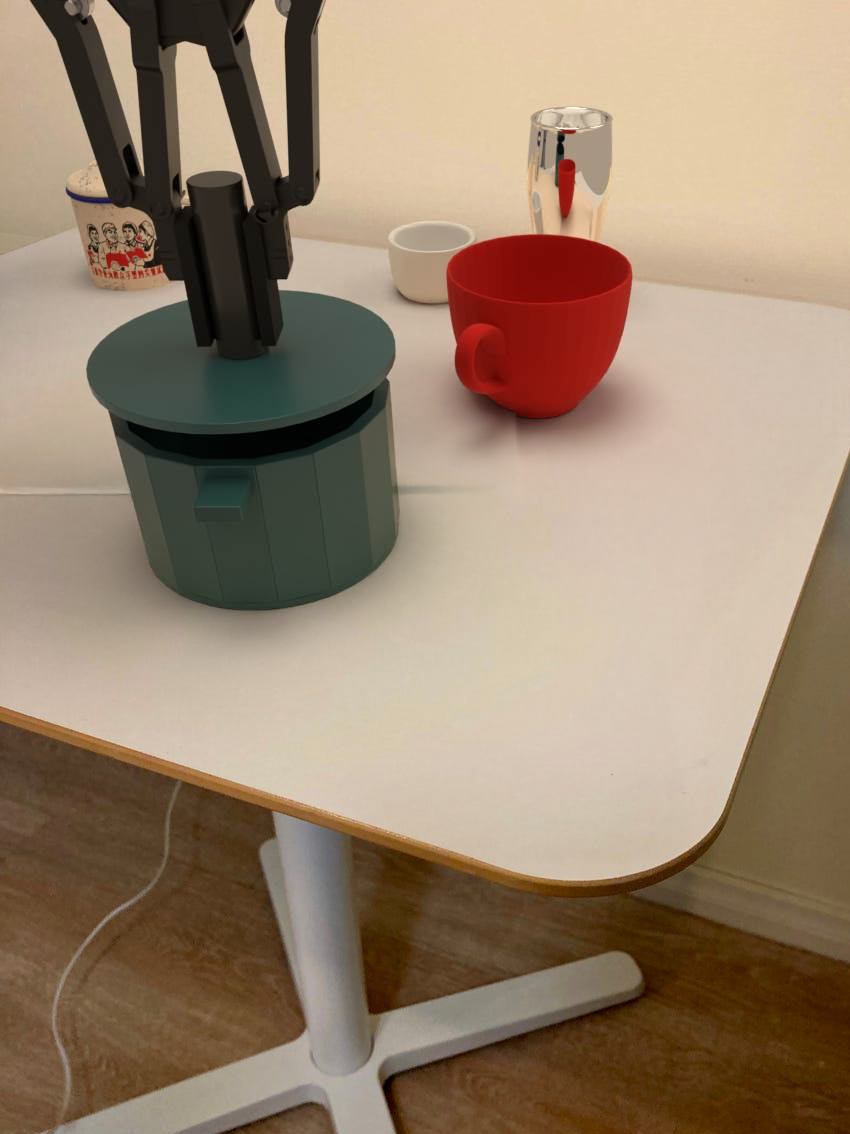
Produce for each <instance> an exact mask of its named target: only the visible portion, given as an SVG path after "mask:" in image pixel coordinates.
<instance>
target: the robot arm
mask: <svg viewBox="0 0 850 1134" xmlns="http://www.w3.org/2000/svg"><path fill="white" fill-rule="evenodd" d="M106 1H107V3H108V4H109V5H110V6H111V7H112V8H113V10H114V11H115V12H116V14H118V16H119V17H120V18H121V19H122V20H123V22H124V23H125V24H126V25H127V26H128V27H129V37H130V49H131V51H130V52H131V60H132V65H133V67H134V69H135V74H136V85H137V87H136V88H137V98H138V99H137V101H138V111H139V113H138V114H139V123H140V124H139V126H140V137H141V149H142V151H141V152H142V161H143V165H144V176H143V173H142V170H141V167H140V163H139V160H138V159H139V157H138V154H137V151H136V147H135V144H134V142H133V137H132V135H131V131H130V127H129V125H128V121H127V117H126V115H125V111H124V109H123V104H122V102H121V98H120V95H119V93H118V89H117V85H116V82H115V79H114V75H113V71H112V70H111V66H110V63H109V60H108V56H107V52H106V50H105V46H104V43H103V39H102V37H101V34H100V30H99V28H98V26H97V24H96V22H95V20H94V17H93V13H94V12H95V9H96V1H95V0H29V2H30V3H31V5H32V6H33V8H34V10H36V12H37V14H38V15H39V17H40V19H41V20H42V21H43V23H44V24H45V26H46V27H47V29H48V31H49V32H50V33H51V35H52V36H53V38H54V39H55V41H56V44H57V48H58V51H59V53H60V56H61V57H60V58H61V59H62V63H63V66H64V69H65V72H66V74H67V78H68V81H69V83H70V86H71V90H72V92H73V95H74V98H75V101H76V105H77V108H78V111H79V114H80V116H81V120H82V123H83V126H84V129H85V132H86V135H87V137H88V141H89V144H90V147H91V150H92V153H93V156H94V158H95V159H96V162H97V165H98V168H99V171H100V174H101V177H102V180H103V183H104V186H105V189H106V192H107V195H108V198H109V200H110V202H111V203H112V204H113V205H114V206H116V207H118V208H126V207H131V208H134V209H137V210H140V211H142V212H144V213H145V214H147V215H148V216H149V217H150V219H151V220H152V222H153V225H154V229H155V234H156V239H157V243H158V248H159V251H160V257H161V262H162V267H163V271H164V273H165V275H166V276H167V278H168V280H169V281H173V282H183V285H184V288H185V293H186V298H187V299H186V300H188V304H189V309H190V314H191V319H192V324H193V329H194V334H195V339H196V344H197V347H211V346H212V344H213V342H214V339H215V335H214V330H213V324H212V319H211V314H210V308H209V303H208V298H207V292H206V287H205V282H204V276H203V271H202V266H201V260H200V255H199V250H198V244H197V239H196V234H195V228H194V223H193V218H192V212H191V207H190V206H189V205H181V200H182V199H183V197H184V196H185V195H186V192H187V189H183V180H182V177H183V176H182V162H181V143H180V125H179V124H180V123H179V107H178V106H179V105H178V90H177V89H178V88H177V87H178V86H177V71H176V59H177V55H178V54H177V53H178V44H182V43H184V42H185V43H186V42H187V43H190V44H194V45H198V46H201V47H205V50H206V55H207V58H208V61H209V64H210V66H211V69H212V70H213V71H214V73H215V75H216V78H217V82H218V86H219V88H220V92H221V95H222V99H223V103H224V106H225V110H226V112H227V117H228V120H229V123H230V126H231V130H232V133H233V137H234V141H235V144H236V147H237V151H238V155H239V158H240V162H241V165H242V169H243V172H244V175H245V179H246V181H247V182H246V183H247V186H248V189H249V193H250V196H251V200H252V205H251V206H250V208H249V209H248V214H247V216H246V217H245V219H244V221H243V223H242V224H243V230H244V236H245V242H246V249H247V255H248V261H249V268H250V274H251V280H252V286H253V293H254V299H255V305H256V312H257V318H258V324H259V330H260V337H261V343H262V346H276V345H277V342H278V339H279V337H280V334H281V331H282V328H283V326H284V324H283V317H282V310H281V303H280V296H279V290H280V288H279V282H278V281H279V280H280V281H281V280H283V281H284V280H288V279H289V276H290V274H291V272H292V271H291V270H292V267H293V263H294V259H295V258H294V253H293V245H292V237H291V230H290V229H291V228H290V223H289V222H290V221H289V213H288V212H289V211H291V210H293V209H295V208H298V207H307V206H309V205H310V204H311V203H312V202H313V201H314V198H315V196H316V194H317V191H318V189H319V186H320V183H321V157H320V156H321V148H320V147H321V146H320V143H321V141H320V139H321V137H320V136H321V135H320V133H321V132H320V80H319V79H320V75H319V74H320V73H319V71H320V69H319V65H320V64H319V63H320V62H319V24H320V21H321V18H322V17H321V16H322V14H323V12H324V8H325V6H326V5H325V4H326V2H327V0H274V5H275V8H276V10H277V11H278V12H279V14H280V15H281V16H283V17H284V18H286V22H285V28H284V43H283V44H284V45H283V46H284V71H285V73H284V74H285V75H284V76H285V102H286V131H287V132H286V133H287V134H286V135H287V137H286V138H287V158H288V159H287V164H288V165H287V166H288V175H286V176H283V173H282V170H281V166H280V162H279V158H278V155H277V150H276V147H275V143H274V139H273V136H272V132H271V128H270V124H269V121H268V117H267V112H266V109H265V105H264V102H263V98H262V94H261V89H260V86H259V83H258V79H257V76H256V73H255V67H254V64H253V60H252V55H251V51H252V50H251V44H250V40H249V36H248V31H247V28H246V24H245V22H246V20H247V17H248V16H249V14H250V11H251V9H252V7H253V5H254V3H255V1H256V0H106ZM95 159H94V160H95Z"/></svg>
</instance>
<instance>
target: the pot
mask: <svg viewBox="0 0 850 1134" xmlns="http://www.w3.org/2000/svg"><path fill="white" fill-rule="evenodd" d="M392 407H393V406H392V394H391V383H390V380H389V379H388V378H387V377H386V378H385V379H384V380H383V381H382V382H381V383H380V384H379V385H378V386H377V387H376V388H375V389H373V390H372V391H371V392H370V393H369V394H367V395H365V396H364V397H362V398H361V399H359V400H357V401H356V402H354V403H352V404H350V405H348V406H346V407H344V408H342V409H340V410H338V411H335V412H332V413H330V414H327V415H325V416H322V417H319V418H316V419H313V420H309V421H306V422H303V423H299V424H294V425H290V426H286V427H282V428H276V429H270V430H264V431H257V432H247V433H237V434H190V433H180V432H171V431H165V430H159V429H154V428H150V427H146V426H143V425H139V424H136V423H133V422H131V421H128V420H125V419H123V418H121V417H119V416H117V415H115V414H114V413H112V412H110V411H109V410H107V411H108V416H109V419H110V423H111V427H112V431H113V435H114V437H115V442H116V445H117V449H118V453H119V456H120V459H121V463H122V467H123V470H124V475H125V478H126V481H127V487H128V489H129V493H130V497H131V501H132V504H133V508H134V511H135V514H136V518H137V522H138V525H139V529H140V533H141V536H142V541H143V544H144V548H145V552H146V555H147V559H148V563H149V566H150V569H152V571H153V572H154V574H155V575H156V577H157V578H158V579H159V580H160V581H161V582H162V583H163V584H164V585H165V586H166V587H167V588H169V589H170V590H172V591H174V592H175V593H177V594H178V595H181V596H182V597H185V598H187V599H188V600H191V601H195V602H196V603H197V602H198V603H200V604H204V605H207V606H212V607H217V608H222V609H231V610H242V611H243V610H246V611H249V610H250V611H258V610H276V609H283V608H290V607H295V606H299V605H304V604H308V603H311V602H316V601H319V600H322V599H325V598H327V597H330V596H333V595H336V594H338V593H340V592H342V591H344V590H346V589H348V588H351V587H353V586H354V585H356V584H357V583H359V582H361V581H362V580H364V579H365V578H367V577H368V576H369V575H370V574H372V573H373V572H374V571H375V570H377V569H378V568H379V566H380V565H381V564H382V563H384V562H385V560H386V559H387V557H388V556H389V555H390V553H391V552H392V550H393V549H394V546H395V544H396V542H397V538H398V534H399V519H400V502H399V487H398V486H399V485H398V474H397V462H396V449H395V448H396V447H395V435H394V422H393V421H394V420H393V408H392Z"/></svg>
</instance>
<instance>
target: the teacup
mask: <svg viewBox="0 0 850 1134" xmlns="http://www.w3.org/2000/svg"><path fill="white" fill-rule="evenodd" d="M387 237H388V238H387V252H388V253H387V254H388V260H389V266H390V273H391V275H392V280H393V282H394V284H395V286H396V288H397V290H398V291H399V292H400V293H401V295H403V297H405V298H406V299H407V300H410V301H411V302H415V303H420V304H431V305H432V304H433V305H436V304H445V303H449V301H448V292H447V280H446V271H447V266H448V263H449V261H450V260H451V259H452V257H453V256H454V255H456V254H457V253H458V252H459V251H461V250H463V249H465V248H467V247H469V246H471V245H474V244H477V243H478V242H477V235H476V233H475V231H474V230H473V229H472V228H470V227H468V226H467V225H464V224H461V223H457V222H452V221H445V220H421V221H414V222H409V223H405V224H402V225H400V226H398V227H396V228H394V229H393V230H391V231H390V232H389V234H388V236H387Z"/></svg>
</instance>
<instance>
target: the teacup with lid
mask: <svg viewBox="0 0 850 1134" xmlns="http://www.w3.org/2000/svg"><path fill="white" fill-rule="evenodd" d="M138 160H139V163H140V167H141V170H142V173H143V176H144V165H143V160H141V159H140V158H138ZM65 193H66V195H67V196H68V197H69V198H70V201H71V206H72V209H73V213H74V217H75V221H76V225H77V229H78V233H79V236H80V241H81V245H82V248H83V251H84V257H85V259H86V264H87V267H88V271H89V276H90V278H91V281H92V283H93V284H94V285H95V286H97V287H99V288H101V289H103V290H110V291H115V292H116V291H117V292H135V291H143V290H151V289H155V288H159V287H162V286H165V285H168V284H171V283H173V282H174V281H169V280H168V278H167V276H166V275H165V273H164V271H163V267H162V262H161V257H160V251H159V248H158V243H157V239H156V234H155V229H154V225H153V222H152V220H151V219H150V217H149V216H148V215H147V214H145V213H144V212H142V211H140V210H137V209H134V208H131V207H126V208H118V207H116V206H114V205H113V204H112V203H111V202H110V200H109V198H108V195H107V192H106V189H105V186H104V183H103V180H102V177H101V174H100V171H99V168H98V165H97V162H96V159H93V160H92V161H90V162H89V163H88V164H87V165H86V166H85V167H83V168H80V169H78V170H75V172H73V173H72V174H70V175H69V176H68V178H67V179H66V182H65ZM181 205H182V206H190V202H189V196H188V194H185V196H184V197H183V199H182V200H181Z"/></svg>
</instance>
